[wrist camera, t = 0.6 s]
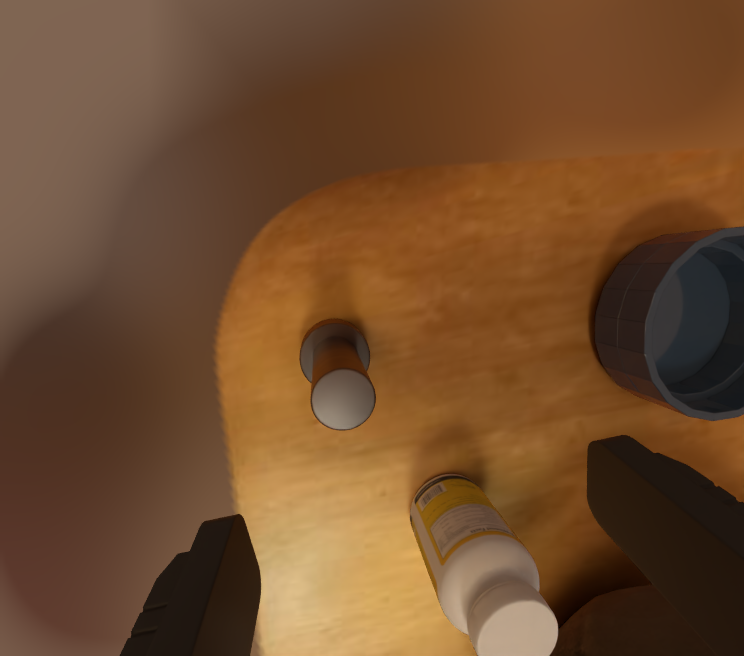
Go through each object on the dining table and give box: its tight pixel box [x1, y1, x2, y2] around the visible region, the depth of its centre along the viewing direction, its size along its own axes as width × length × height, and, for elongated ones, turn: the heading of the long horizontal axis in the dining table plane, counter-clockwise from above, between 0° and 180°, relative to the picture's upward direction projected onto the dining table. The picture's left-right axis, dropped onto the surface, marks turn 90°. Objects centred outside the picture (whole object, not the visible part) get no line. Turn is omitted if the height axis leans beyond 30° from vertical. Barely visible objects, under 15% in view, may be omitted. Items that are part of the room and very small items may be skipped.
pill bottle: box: [410, 474, 558, 656], centre depth 25 cm, size 6×6×12 cm
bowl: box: [595, 227, 744, 421], centre depth 29 cm, size 14×14×6 cm
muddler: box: [300, 319, 376, 430], centre depth 23 cm, size 5×5×11 cm
